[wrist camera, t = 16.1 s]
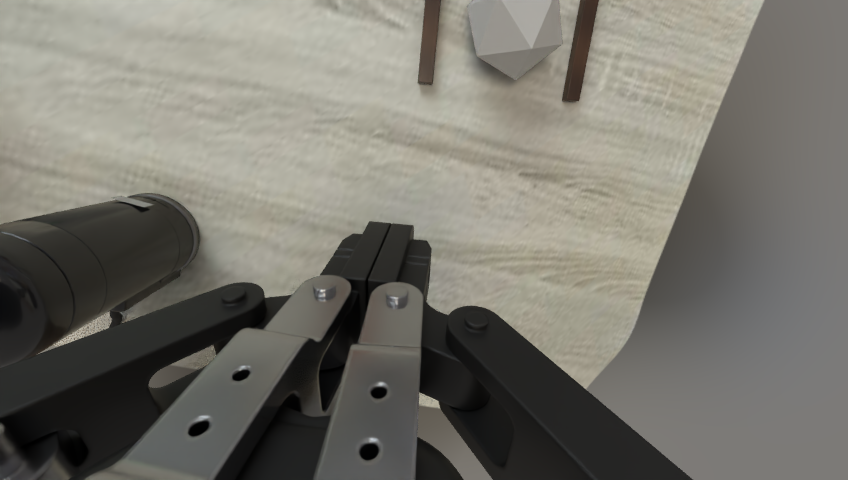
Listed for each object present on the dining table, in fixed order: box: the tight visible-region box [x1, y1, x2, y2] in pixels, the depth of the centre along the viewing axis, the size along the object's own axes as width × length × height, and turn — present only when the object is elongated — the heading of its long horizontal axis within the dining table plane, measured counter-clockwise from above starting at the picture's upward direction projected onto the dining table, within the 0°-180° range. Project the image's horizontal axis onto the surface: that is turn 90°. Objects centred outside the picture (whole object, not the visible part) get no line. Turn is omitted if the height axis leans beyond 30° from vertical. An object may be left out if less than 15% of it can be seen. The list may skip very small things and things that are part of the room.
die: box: [467, 0, 563, 80], centre depth 36 cm, size 8×9×10 cm
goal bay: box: [418, 0, 599, 102], centre depth 38 cm, size 16×18×1 cm
